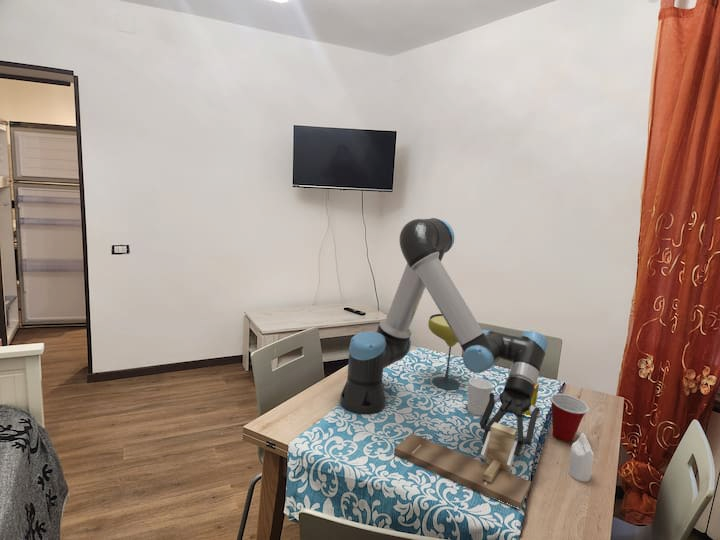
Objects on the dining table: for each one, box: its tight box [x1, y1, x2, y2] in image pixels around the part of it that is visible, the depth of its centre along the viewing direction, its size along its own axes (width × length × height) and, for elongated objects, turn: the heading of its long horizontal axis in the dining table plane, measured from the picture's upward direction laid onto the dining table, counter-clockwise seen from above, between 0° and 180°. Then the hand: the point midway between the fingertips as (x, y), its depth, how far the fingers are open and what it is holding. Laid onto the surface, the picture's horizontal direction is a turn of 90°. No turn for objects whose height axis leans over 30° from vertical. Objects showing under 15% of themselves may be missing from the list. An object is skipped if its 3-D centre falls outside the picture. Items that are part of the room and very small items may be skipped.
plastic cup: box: [550, 393, 589, 443], centre depth 140 cm, size 11×11×12 cm
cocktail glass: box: [428, 313, 461, 391], centre depth 171 cm, size 18×18×25 cm
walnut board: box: [393, 432, 532, 510], centre depth 120 cm, size 34×10×2 cm, turn 56°
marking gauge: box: [483, 422, 518, 483], centre depth 117 cm, size 6×11×12 cm, turn 146°
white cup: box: [466, 377, 494, 416], centre depth 153 cm, size 8×8×10 cm
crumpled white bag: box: [567, 432, 595, 483], centre depth 121 cm, size 6×12×6 cm
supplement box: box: [523, 381, 540, 416], centre depth 154 cm, size 6×6×11 cm
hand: (495, 461), depth 117 cm, fingers closed on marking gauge, 6 cm apart
